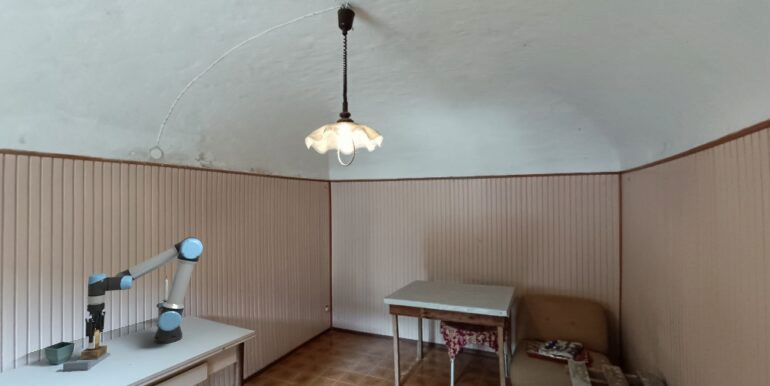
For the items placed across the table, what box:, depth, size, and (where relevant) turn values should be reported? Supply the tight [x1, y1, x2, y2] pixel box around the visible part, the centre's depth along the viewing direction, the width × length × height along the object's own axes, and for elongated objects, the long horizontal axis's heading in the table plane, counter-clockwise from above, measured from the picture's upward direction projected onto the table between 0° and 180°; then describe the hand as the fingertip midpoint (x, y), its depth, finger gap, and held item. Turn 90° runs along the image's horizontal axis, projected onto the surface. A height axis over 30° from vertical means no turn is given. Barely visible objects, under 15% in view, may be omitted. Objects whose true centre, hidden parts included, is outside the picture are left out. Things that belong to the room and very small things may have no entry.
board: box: [62, 352, 111, 373], centre depth 189 cm, size 11×19×4 cm, turn 9°
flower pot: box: [44, 341, 75, 365], centre depth 189 cm, size 9×9×9 cm
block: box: [80, 345, 108, 360], centre depth 194 cm, size 8×8×4 cm
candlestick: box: [156, 274, 169, 327], centre depth 250 cm, size 11×11×35 cm
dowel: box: [90, 329, 100, 350], centre depth 194 cm, size 4×4×13 cm
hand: (94, 346), depth 194 cm, fingers open, 4 cm apart
